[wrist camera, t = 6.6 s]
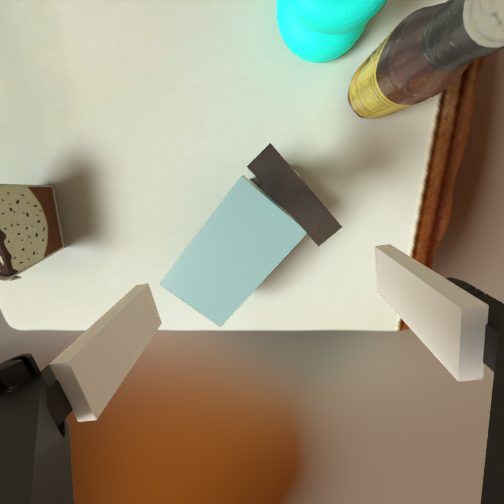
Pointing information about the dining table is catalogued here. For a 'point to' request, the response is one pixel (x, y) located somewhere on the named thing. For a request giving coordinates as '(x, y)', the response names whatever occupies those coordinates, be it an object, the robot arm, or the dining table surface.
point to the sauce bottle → (426, 55)
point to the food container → (27, 227)
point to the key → (294, 195)
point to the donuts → (324, 25)
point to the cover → (233, 252)
